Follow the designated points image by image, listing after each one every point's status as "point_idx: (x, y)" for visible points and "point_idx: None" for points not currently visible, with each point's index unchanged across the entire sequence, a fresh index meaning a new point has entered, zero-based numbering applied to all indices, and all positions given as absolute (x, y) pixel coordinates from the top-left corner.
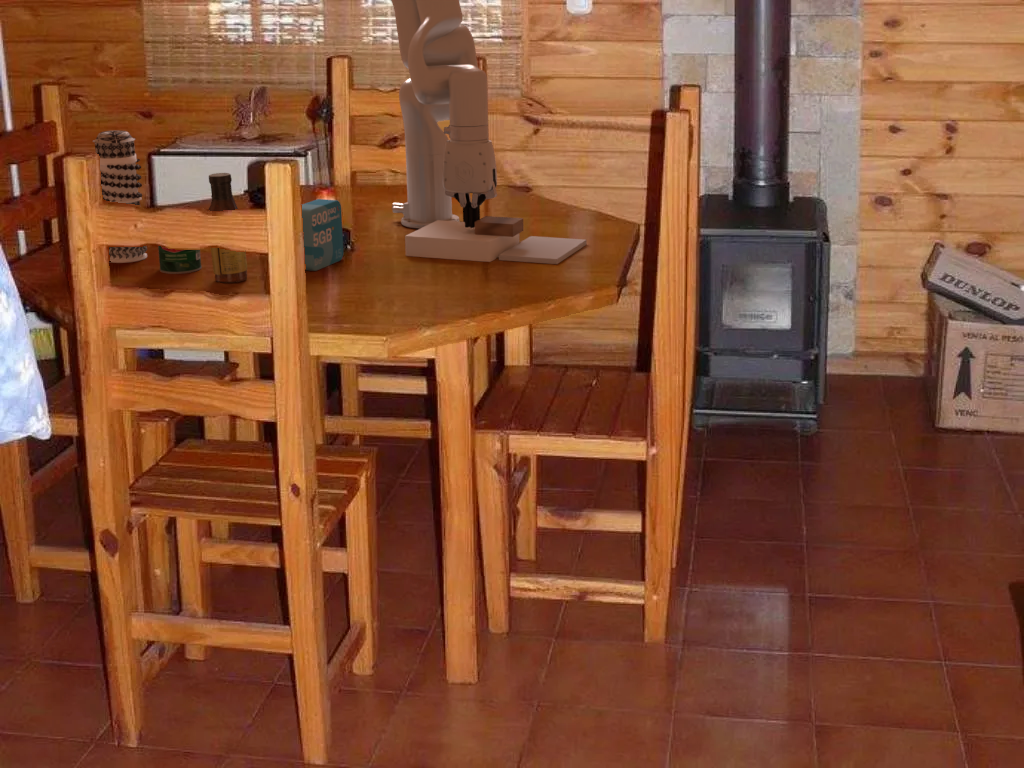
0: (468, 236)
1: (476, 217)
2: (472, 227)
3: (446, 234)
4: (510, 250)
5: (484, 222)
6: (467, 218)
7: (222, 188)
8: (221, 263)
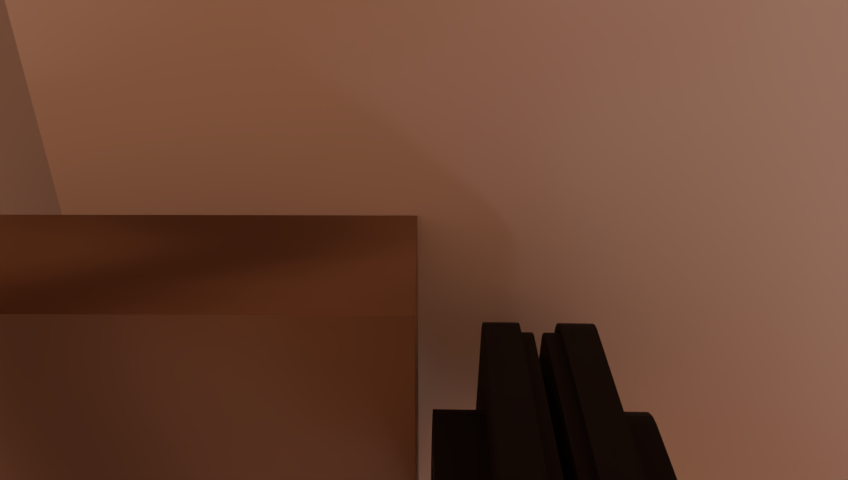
0: (455, 79)
1: (441, 459)
2: (483, 324)
3: (810, 115)
4: (47, 187)
5: (239, 316)
6: (575, 410)
7: None
8: None
